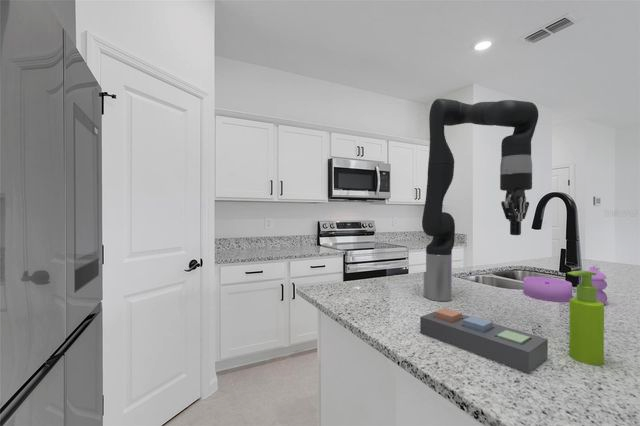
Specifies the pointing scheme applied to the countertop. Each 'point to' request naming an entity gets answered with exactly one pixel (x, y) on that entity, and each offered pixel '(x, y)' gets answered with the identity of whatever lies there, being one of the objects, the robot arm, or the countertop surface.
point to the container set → (561, 288)
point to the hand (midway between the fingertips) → (515, 234)
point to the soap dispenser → (586, 322)
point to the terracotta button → (448, 315)
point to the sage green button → (514, 337)
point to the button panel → (488, 342)
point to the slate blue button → (478, 324)
